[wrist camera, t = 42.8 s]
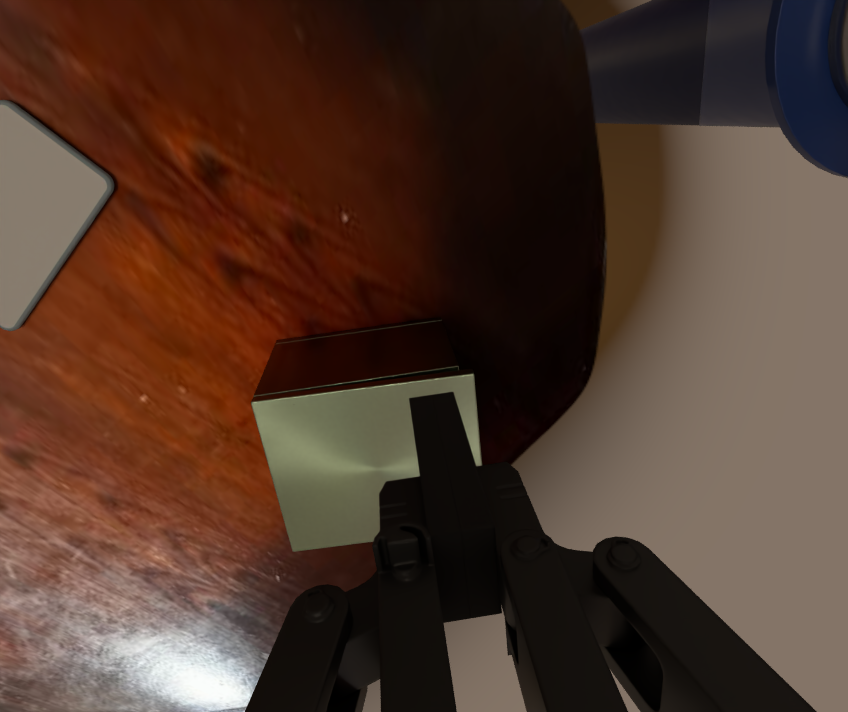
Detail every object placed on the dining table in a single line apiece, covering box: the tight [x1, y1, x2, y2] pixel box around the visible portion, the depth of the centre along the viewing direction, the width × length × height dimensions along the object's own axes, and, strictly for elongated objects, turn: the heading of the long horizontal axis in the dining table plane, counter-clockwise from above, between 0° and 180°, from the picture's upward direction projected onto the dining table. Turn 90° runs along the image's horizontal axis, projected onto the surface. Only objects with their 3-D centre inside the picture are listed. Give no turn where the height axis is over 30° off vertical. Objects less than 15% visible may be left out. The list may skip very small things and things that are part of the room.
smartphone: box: [0, 100, 114, 331], centre depth 39 cm, size 8×1×15 cm
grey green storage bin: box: [254, 317, 459, 397], centre depth 43 cm, size 14×13×10 cm
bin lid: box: [251, 369, 482, 551], centre depth 38 cm, size 14×13×1 cm
